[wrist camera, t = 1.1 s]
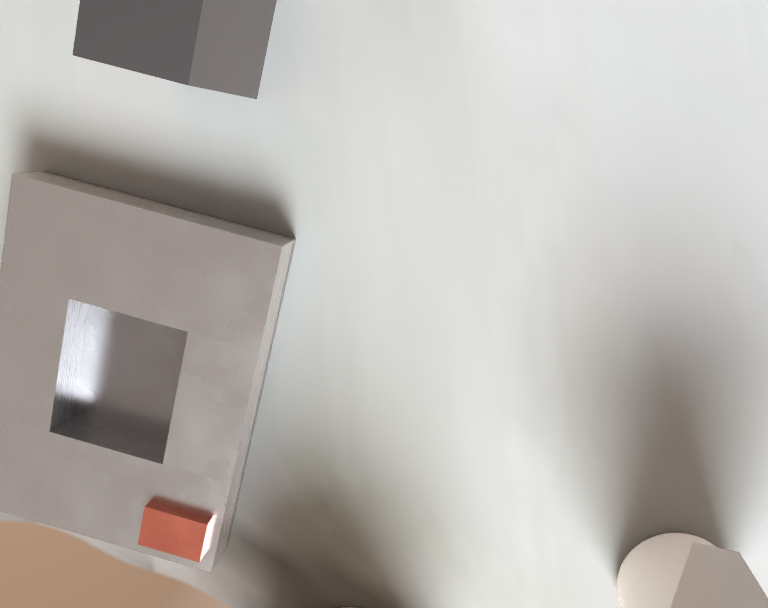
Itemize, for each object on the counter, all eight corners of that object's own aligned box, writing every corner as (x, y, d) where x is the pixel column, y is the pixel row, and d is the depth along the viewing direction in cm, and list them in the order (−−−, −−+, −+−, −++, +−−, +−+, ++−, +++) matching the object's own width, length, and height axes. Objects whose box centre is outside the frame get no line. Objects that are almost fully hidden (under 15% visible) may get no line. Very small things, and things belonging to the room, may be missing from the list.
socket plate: (44, 171, 33) (3, 174, 30) (295, 238, 32) (278, 248, 30) (3, 479, 37) (-37, 508, 34) (227, 545, 36) (206, 580, 33)
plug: (189, -45, 30) (95, -109, 23) (280, -22, 30) (217, -79, 22) (169, 76, 32) (72, 55, 24) (256, 99, 31) (188, 85, 24)
